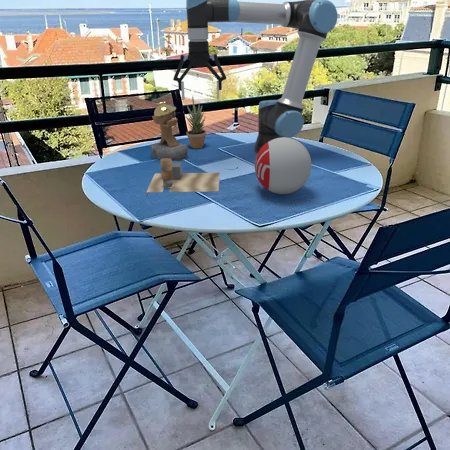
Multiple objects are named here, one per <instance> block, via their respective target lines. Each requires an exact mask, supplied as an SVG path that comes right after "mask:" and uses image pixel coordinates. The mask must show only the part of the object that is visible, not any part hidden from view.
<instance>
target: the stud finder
mask: <svg viewBox="0 0 450 450" xmlns="http://www.w3.org/2000/svg"><path fill="white" fill-rule="evenodd" d="M182 164H183V163H182V161H172V174H173V178H172V181H173V180H176V179H181V177H182V173H183V165H182Z"/></svg>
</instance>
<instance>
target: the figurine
mask: <svg viewBox="0 0 450 450" xmlns="http://www.w3.org/2000/svg"><path fill="white" fill-rule="evenodd" d="M155 105H158V106H157V107H156V108H155V109H154V112H153V115H152V116H151V118H152V120H153V122H154V124H155V125H159V128H160V132H161V133H160V134H161V137H160V141H158V142H155V143H153V144H152V143H151V144H150V151H151V158H153V159H157V160H159V161H160V160H161V159H163V158H170V159H171V160H172V162H181V161H182V160H185V159H188V158H189V156H188V154H189V152H188V144H184V143H181V142H178V140H177V138H176V136H175V135H174V134H173V129H172V127H175V126H177V123H178V121H179V120H178V118H175V117H176V110H177V107H176V106H174V105H170V104H167V101H162V102H156V103H155Z"/></svg>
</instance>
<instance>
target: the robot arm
mask: <svg viewBox="0 0 450 450" xmlns="http://www.w3.org/2000/svg"><path fill="white" fill-rule="evenodd" d="M185 2H186V6H185V9H186V20H187V40H188V43H187V44H188V46H187V47H188V55H185V54H181V55H180V58H179V59H180V60H179V62H178V63H179V64H178V66H177V69H176V71H175V73H174V76H173V78H172V81H175V82H177V85H178V91H179V92H180V91H181V100H182V101H184V100H185V84H184V83H185V82H184V81H183V79H184V78H185V77H186V75H187V74H188V73H189V71H190V70H191V69H192V67H194V68H204V67H206V68H207V69H208V70H209V72H211V73H212V74H213V76H214V77H215V79H216V99H217V100H220V91H222V88H223V81H226V80H227V75H226V73H225V70H223V67H222V65H221V63H220V61H219V59H218V54H217V53H214V54H210V48H209V47H210V45H209V41H208V39H209V23H242V24H243V23H244V24H246V23H248V24H263V25H265V24H267V25H280V26H281V27H282V28H290V29H295V30H297V34H298V37H299V39H298V42H297V45H296V49H295V53H294V56H293V58H292V62H291V66H290V69H289V72H288V75H287V79H286V82H285V85H284V86H285V87H284V89H283V91H282V96H281V98H278V99H269V100H261V101H259V103H258V108H257V109H258V122H257V124H258V126H257V127H258V130H257V131H258V133H257V136H256V141H255V143H254V147H253V148H254V149H253V150H254V152H255V153H257V154H258V152H259V151H260V149H261V148H262V147H263V146H264V145H265V144H266V143H267V142H269V141H271V140H273V139H276V138H282V137H286V138H293V137H296V136H297V135H298V134H300V132H301V131H302V129H303V127H304V123H305V121H304V120H305V119H304V117H303V111H304V109H305V108H304V106H303V103H302V102H303V100H304V96H305V93H306V90H307V88H308V84H309V82H310V81H309V80H310V78H311V75H312V71H313V68H314V64H315V61H316V58H317V55H318V51H319V48H320V46H321V43H324V42H325V41H326V39H327V37H328V33H329V32H331V31H332V30H333V29H334V28H335V26H336V25H337V22H338V17H339V16H338V15H339V14H338V9H337V8H336V6H335V4H334V3H333V2H332V1H330V0H297V1H284V2H283V3H269V2H267V3H266V2H254V1H253V2H251V1H238V0H186V1H185ZM187 59H188V61H189V64H188V66H187V67H186V69H185V70H184V72H183V73H182V74H181V75H180V72H181V70H182V67H183V65H184V62H185V61H187ZM209 60H212V61H214V64H215V66H216V67H217V69H218V71H219V74H220V75H221V76H220V75H219V74H218V72H217V71H216V70H215V68H213V66H212V65H211V63H210V61H209ZM179 75H180V77H179Z"/></svg>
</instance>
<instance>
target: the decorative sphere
mask: <svg viewBox="0 0 450 450" xmlns="http://www.w3.org/2000/svg"><path fill="white" fill-rule="evenodd" d="M254 160H255V163H254V172H255V176H256V178H257V181H258V182H259V184H260V185H262V186H261V187H263V188H265V190H267V191H269V192H271V193H274V194H277V195H288V194H292V193H294V192H297V191H298V190H300V189H301V188H302V187H304V186H305V184H306V183H307V182H308V181H309V178H310V176H311V173H312V159H311V155H310V153H309V151H308V149H307V148H306V147H305V145H304V144H302V143H301V142H299V141H298V140H296V139H295V138H292V137H290V138H286V137H282V138H276V139H273V140H271V141H269V142H267V143H266V144H265V145H264V146H263V147H262V148H261V149H260V151H259V152H258V153H257V154H256V156H255V159H254Z"/></svg>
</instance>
